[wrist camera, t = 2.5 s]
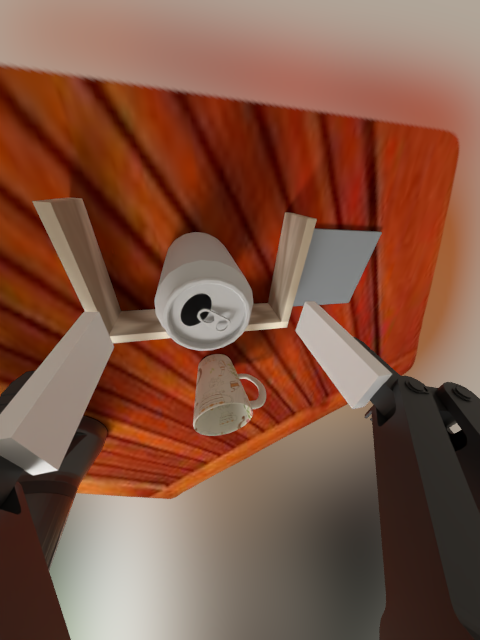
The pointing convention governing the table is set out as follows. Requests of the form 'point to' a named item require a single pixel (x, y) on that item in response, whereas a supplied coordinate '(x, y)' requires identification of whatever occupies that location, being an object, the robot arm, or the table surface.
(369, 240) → the mat
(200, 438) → the table surface
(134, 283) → the table surface
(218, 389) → the mug
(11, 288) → the table surface
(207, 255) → the can
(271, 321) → the u-shaped shelf bracket
